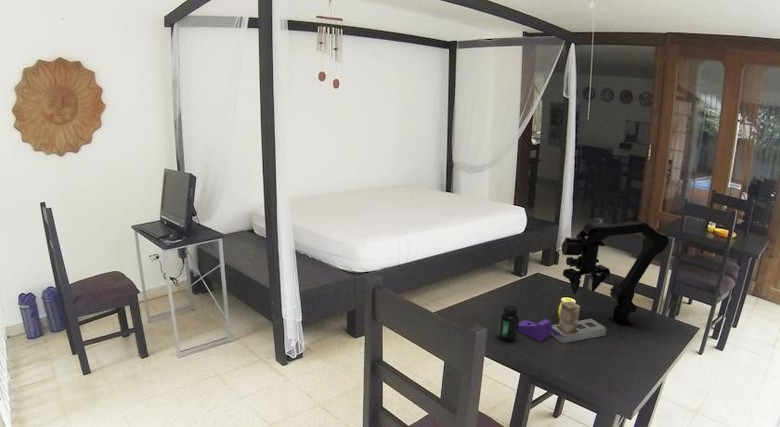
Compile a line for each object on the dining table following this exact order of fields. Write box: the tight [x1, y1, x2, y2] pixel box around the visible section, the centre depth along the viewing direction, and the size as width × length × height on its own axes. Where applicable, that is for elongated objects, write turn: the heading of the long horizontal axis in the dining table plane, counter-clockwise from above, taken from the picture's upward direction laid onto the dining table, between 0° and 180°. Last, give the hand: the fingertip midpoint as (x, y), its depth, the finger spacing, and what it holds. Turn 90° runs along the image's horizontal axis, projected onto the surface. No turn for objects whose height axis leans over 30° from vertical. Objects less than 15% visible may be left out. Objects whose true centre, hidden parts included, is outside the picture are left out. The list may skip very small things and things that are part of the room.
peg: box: [558, 300, 581, 334], centre depth 184 cm, size 4×4×13 cm
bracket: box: [518, 318, 553, 342], centre depth 187 cm, size 12×7×7 cm, turn 40°
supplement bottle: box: [498, 304, 520, 342], centre depth 182 cm, size 7×7×12 cm
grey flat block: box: [550, 318, 607, 344], centre depth 187 cm, size 20×8×3 cm, turn 111°
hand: (583, 292), depth 195 cm, fingers open, 9 cm apart
